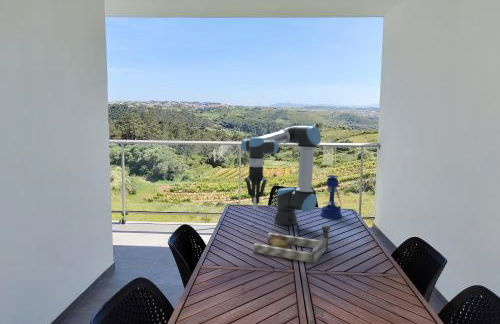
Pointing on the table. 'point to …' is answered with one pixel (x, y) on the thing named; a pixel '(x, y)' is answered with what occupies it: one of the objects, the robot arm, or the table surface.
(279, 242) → the stone
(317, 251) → the bay
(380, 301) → the table surface
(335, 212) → the lantern
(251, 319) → the table surface
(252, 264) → the table surface
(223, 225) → the table surface
